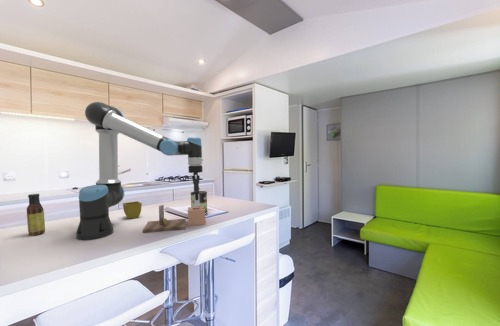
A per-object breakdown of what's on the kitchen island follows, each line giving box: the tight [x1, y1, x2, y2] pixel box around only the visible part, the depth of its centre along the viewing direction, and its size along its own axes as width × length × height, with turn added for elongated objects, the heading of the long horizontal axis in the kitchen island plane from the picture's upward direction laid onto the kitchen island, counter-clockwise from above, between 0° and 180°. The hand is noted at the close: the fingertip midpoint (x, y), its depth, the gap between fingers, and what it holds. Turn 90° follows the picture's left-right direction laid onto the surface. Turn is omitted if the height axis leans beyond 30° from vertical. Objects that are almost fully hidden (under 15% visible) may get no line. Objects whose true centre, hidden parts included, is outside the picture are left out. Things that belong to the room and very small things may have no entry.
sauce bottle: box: [26, 193, 46, 236], centre depth 116 cm, size 7×6×20 cm
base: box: [142, 204, 187, 234], centre depth 125 cm, size 20×15×12 cm
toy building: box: [187, 206, 206, 227], centre depth 131 cm, size 9×9×8 cm
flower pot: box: [122, 201, 143, 220], centre depth 145 cm, size 9×9×9 cm
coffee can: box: [190, 190, 208, 213], centre depth 151 cm, size 10×10×14 cm
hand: (196, 203), depth 131 cm, fingers open, 13 cm apart
